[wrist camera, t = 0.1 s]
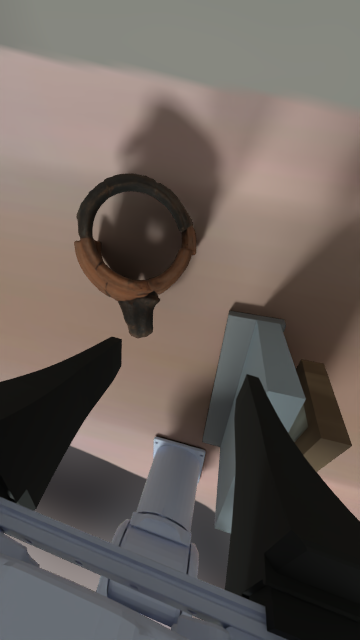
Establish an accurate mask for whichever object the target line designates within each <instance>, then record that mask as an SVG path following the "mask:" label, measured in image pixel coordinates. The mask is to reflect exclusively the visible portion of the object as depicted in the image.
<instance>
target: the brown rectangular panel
mask: <svg viewBox="0 0 360 640" xmlns="http://www.w3.org/2000/svg"><path fill="white" fill-rule="evenodd" d="M296 372H297V375H298V378H299V381H300V384H301V387H302V389H303V392H304V395H305V398H306V400H305V402H304V404H303V406H302V408H301V409H300V411H299V413H298V415H297V417H296V419H295V421H294V423H293V425H292V426H291V428H290V430H289V432H288V433H289V435H290V437H291V438H292V440H293V441H294V443H295V444H296V445H297V447H298V448H299V450H300V451H301V453H302V454H303V455H304V457H305V458H306V459H307V461H308V462H309V463H310V465H311V466H312V467H313V468H314V470H315V471H316V472H317V471H319V470H320V469H321V468H323V467H324V466H325V465H327V464H328V463H329V462H331V461H332V460H333V459H335V458H336V457H338V456H339V455H340V454H342V453H343V452H344V451H346V450H347V449H348V448H350V447H351V446H352V444H351V441H350V438H349V435H348V433H347V430H346V427H345V424H344V421H343V418H342V415H341V412H340V409H339V406H338V404H337V401H336V398H335V395H334V392H333V389H332V386H331V383H330V380H329V377H328V374H327V372H326V369H325V366H324V364H323V363H318V362H312V361H307V360H301V361H300V363H299V365H298V366H297V368H296Z"/></svg>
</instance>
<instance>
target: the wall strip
mask: <svg viewBox="0 0 360 640" xmlns="http://www.w3.org/2000/svg"><path fill="white" fill-rule="evenodd" d="M285 327H286V323H285V321H284V320H283V319H277V318H271V317H265V316H259V315H253V314H247V313H241V312H235V311H229V314H228V319H227V324H226V329H225V334H224V338H223V343H222V348H221V353H220V358H219V362H218V367H217V372H216V377H215V382H214V386H213V391H212V396H211V401H210V406H209V411H208V415H207V420H206V425H205V430H204V435H203V441H202V442H204V443H208V444H211V445H215V446H218V447H220V460H219V473H218V486H217V500H216V513H215V526H214V527H215V528H216V529H219V530H222V531H225V532H228V533H231V526H232V514H233V501H234V487H235V463H236V461H235V428H234V415H235V404H236V398H237V396H238V394H239V391H240V389H241V387H242V384H243V382H244V379H245V377H246V375H247V374H248V375H252V376H255V377H258V378H259V379H260V381H261V383H262V386H263V388H264V390H265V392H266V394H267V396H268V398H269V400H270V402H271V404H272V406H273V407H274V409H275V411H276V413H277V415H278V417H279V418H280V420H281V422H282V424H283V425H284V427H285V429H286V430H287V432H289V430H290V428H291V426H292V425H293V423H294V421H295V419H296V417H297V415H298V413H299V411H300V409H301V408H302V406H303V404H304V402H305V400H306V398H305V395H304V392H303V389H302V387H301V384H300V381H299V378H298V375H297V372H296V369H295V366H294V363H293V360H292V357H291V354H290V351H289V348H288V345H287V343H286V340H285V337H284V334H283V332H284V329H285Z"/></svg>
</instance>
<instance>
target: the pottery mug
mask: <svg viewBox="0 0 360 640" xmlns="http://www.w3.org/2000/svg"><path fill="white" fill-rule="evenodd" d="M127 191H137V192H142V193H146V194H148V195H150V196H153V197H154V198H156V199H157V200H158V201H160V202H161V203H162V204H164V205H165V206H166V207H167V209H168V210H169V211H170V212H171V214H172V216H173V217H174V219H175V221H176V223H177V226H178V229H179V231H180V232H182V247H181V249H179V250H178V253H177V256H176V258H175V260H174V262H173V263H172V265H171V266H170V267H169V268H168V269H167V270H166V271H165V272H163V273H162V274H161V275H159V276H157V277H154V278H151V279H148V280H133V279H129V278H125V277H123V276H121V275H119V274H117V273H116V272H114V271H113V270H111V269H110V268H109V267H108V266H107V265H106V264H105V263H104V262H103V259H102V254H101V243H100V242H98V241H95V240H94V239H93V236H92V227H93V222H94V218H95V215H96V213H97V211H98V209H99V208H100V206H101V205H102V204H103V203H104V202H105V201H106V200H107V199H108V198H109V197H111V196H113V195H116V194H118V193H122V192H127ZM77 219H78V233H79V236H80V241H75V242H74V245H75V252H76V256H77V259H78V262H79V264H80V266H81V268H82V270H83V272H84V273H85V275H86V276H87V277H88V279H89V280H90V281H91V282H92V283H93V284H94V285H95V286H96V287H97V288H98V289H99V290H100V291H101V292H103V293H104V294H105V295H107V296H109V297H112V298H114V299H115V300H117V301H118V303H119V305H120V307H121V309H122V312H123V315H124V319H125V322H126V323H127V325H128V329H129V333H130V335H131V336H133V337H136V338H141V337H147V336H148V335H149V334H151V333H152V332H153V309H154V307H155V305H156V304H157V303H158V302H159V301H160V299H159V298H158V294H161V293H163V292H164V291H165V290H167V289H168V288H169V287H170V286H171V285H173V284H174V283H175V282H176V281H177V280H178V278H179V277H180V276H181V274H182V273H183V272H184V270H185V269H186V268H187V266H188V264H189V261H190V259H191V255H195V254H196V234H195V230H194V228H193V222H192V219H191V218H190V216H189V214H188V213H187V211H186V210H185V208H184V207H183V205H182V204H181V202H180V201H179V199H178V198H177V196H176V195H175V194H174V193H173V192H172V191H171V190H170V189H168V188H167V187H166V186H164V185H162V184H161V183H157V182H156V181H155V180H154V179H151V178H149V177H147V176H142V175H137V174H119V175H115V176H113V177H109V178H106V179H105V180H104V182H101V183H100V184H98V185H97V186H96V187H95V188H94V189H93V190H91V191H90V192H89V194H88V195H87V197H86V198H85V199H84V201H83V202H82V203H81V205H80V208H79V210H78V213H77Z"/></svg>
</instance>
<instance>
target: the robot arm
mask: <svg viewBox="0 0 360 640" xmlns="http://www.w3.org/2000/svg"><path fill="white" fill-rule="evenodd" d="M121 349H122V339H119V338H115V337H110V338H108V339H106V340H104V341H102V342H101V343H99V344H97V345H95V346H93V347H91V348H89V349H87V350H85V351H83V352H81V353H79V354H77V355H75V356H73V357H71V358H68V359H66V360H64V361H62V362H60V363H57V364H55V365H52V366H50V367H47V368H44V369H42V370H39V371H36V372H33V373H30V374H26V375H23V376H20V377H17V378H13V379H10V380H6V381H2V382H0V640H360V521H359V520H358V519H357V518H356V517H355V516H354V515H353V514H352V513H351V512H350V511H349V510H348V509H347V507H346V506H345V505H344V504H343V503H342V502H341V501H340V500H339V498H338V497H337V496H336V495H335V494H334V493H333V492H332V490H331V489H330V488H329V487H328V486H327V485H326V483H325V482H324V481H323V480H322V478H321V477H320V476H319V475H318V473H317V472H316V471H315V470H314V468H313V467H312V466H311V465H310V463H309V462H308V461H307V459H306V458H305V457H304V455H303V454H302V453H301V451H300V450H299V448H298V447H297V445H296V444H295V443H294V441H293V440H292V438H291V437H290V435H289V433H288V432H287V430H286V429H285V427H284V425H283V424H282V422H281V420H280V418H279V417H278V415H277V413H276V411H275V409H274V407H273V406H272V404H271V402H270V400H269V398H268V396H267V394H266V392H265V390H264V388H263V386H262V383H261V381H260V379H259V378H258V377H255V376H252V375H248V374H247V375H246V377H245V379H244V382H243V384H242V387H241V389H240V391H239V394H238V396H237V398H236V404H235V415H234V428H235V461H236V463H235V487H234V501H233V514H232V526H231V537H230V548H229V558H228V567H227V576H226V585H225V590H224V589H221V588H219V587H217V586H214V585H212V584H210V583H207V582H205V581H202V580H200V579H197V576H198V564H199V553H198V551H197V549H196V545H195V544H194V543H191V544H190V541H191V532H190V529H191V522H192V515H193V508H194V502H195V495H196V489H197V484H198V483H199V479H200V475H201V471H202V466H203V462H204V458H205V450H203V449H199V448H196V447H192V446H189V445H185V444H181V443H178V442H174V441H171V440H167V439H164V438H160V437H155V438H154V456H153V463H152V466H151V469H150V472H149V475H148V478H147V481H146V484H145V487H144V490H143V493H142V496H141V499H140V502H139V505H138V508H137V511H136V512H133V515H132V517H131V520H129V519H126V520H125V521H124V522H122V523H121V524H120V525H119V527H118V528H117V530H116V533H115V534H114V537H113V539H112V542H111V543H110V542H108V541H105V540H103V539H101V538H98V537H96V536H93V535H91V534H88V533H86V532H84V531H81V530H79V529H76V528H74V527H72V526H69V525H67V524H64V523H62V522H60V521H57V520H55V519H52V518H49V517H47V516H45V515H43V514H40V513H38V512H35V511H34V510H35V509H36V508H37V506H38V504H39V502H40V500H41V498H42V496H43V494H44V492H45V490H46V488H47V486H48V484H49V482H50V480H51V478H52V476H53V474H54V473H55V471H56V469H57V467H58V465H59V463H60V462H61V460H62V458H63V456H64V454H65V452H66V451H67V449H68V447H69V445H70V444H71V442H72V440H73V438H74V437H75V435H76V433H77V432H78V430H79V428H80V427H81V425H82V423H83V422H84V420H85V419H86V417H87V416H88V414H89V413H90V411H91V410H92V409H93V407H94V406H95V405H96V403H97V402H98V401H99V399H100V398H101V397H102V395H103V394H104V392H105V391H106V390H107V388H108V387H109V386H110V384H111V383H112V381H113V380H114V378H115V376H116V375H117V373H118V371H119V369H120V367H121ZM4 533H5V534H8V535H10V536H12V537H14V538H17V539H19V540H21V541H23V542H26V543H28V544H30V545H33V546H35V547H37V548H40V549H42V550H44V551H46V552H49V553H51V554H53V555H56V556H58V557H60V558H62V559H65V560H67V561H69V562H71V563H74V564H76V565H78V566H81V567H83V568H86V569H87V570H90V571H92V572H94V573H97V574H99V575H100V580H99V584H98V587H97V590H96V592H95V591H93V590H91V589H88V588H86V587H84V586H82V585H79V584H77V583H75V582H73V581H71V580H68V579H66V578H63V577H61V576H59V575H56V574H54V573H52V572H49V571H47V570H44V569H42V568H39V564H38V563H37V562H36V561H35V560H33V559H32V558H31V557H30V555H29V554H28V552H27V548H26V547H25V546H23V545H22V544H20V543H18V542H17V541H15V540H13V539H11V538H10V537H8V536H6V535H5V534H4ZM141 614H142V615H141ZM143 615H144V616H143ZM192 615H193V616H195V617H197V618H200V619H202V620H199V619H196V618H192ZM145 616H147V617H149V618H151V619H154V620H156V621H158V622H161V623H163V624H165V625H168V626H169V627H171V630H170V629H168V628H166V627H164V626H162V625H160V624H159V623H157V622H155V621H153V620H151V619H149V618H147V617H145ZM203 620H204V621H203Z"/></svg>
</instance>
